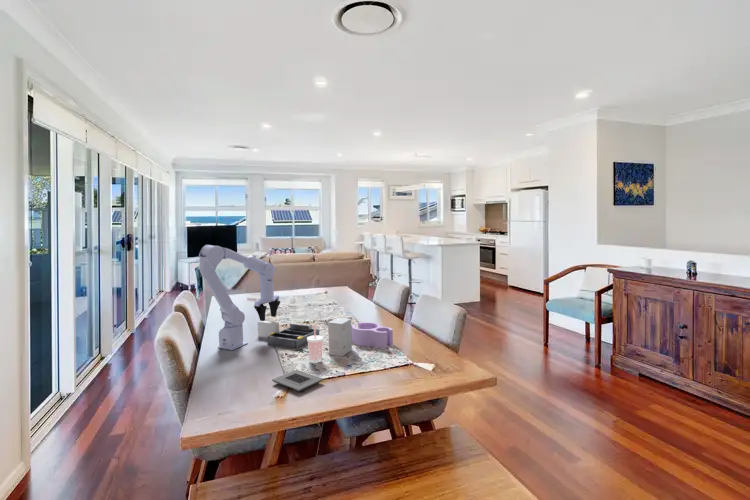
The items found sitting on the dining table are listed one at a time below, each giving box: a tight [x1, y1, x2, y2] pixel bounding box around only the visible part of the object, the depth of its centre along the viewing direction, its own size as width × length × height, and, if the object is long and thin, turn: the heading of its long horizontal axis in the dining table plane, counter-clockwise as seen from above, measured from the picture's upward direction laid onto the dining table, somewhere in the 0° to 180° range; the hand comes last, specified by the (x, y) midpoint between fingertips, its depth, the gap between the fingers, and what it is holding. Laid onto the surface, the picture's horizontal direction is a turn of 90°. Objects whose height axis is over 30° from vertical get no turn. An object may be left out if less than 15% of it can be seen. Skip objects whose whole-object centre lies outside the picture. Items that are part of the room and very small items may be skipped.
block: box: [257, 320, 280, 339], centre depth 185 cm, size 2×10×7 cm, turn 65°
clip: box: [351, 321, 394, 349], centre depth 175 cm, size 20×12×7 cm, turn 51°
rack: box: [267, 321, 320, 350], centre depth 179 cm, size 17×15×6 cm
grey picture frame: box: [271, 369, 324, 392], centre depth 134 cm, size 13×10×2 cm
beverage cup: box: [307, 324, 324, 364], centre depth 154 cm, size 6×6×14 cm
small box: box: [327, 317, 353, 357], centre depth 163 cm, size 8×6×13 cm
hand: (268, 318), depth 184 cm, fingers open, 7 cm apart
